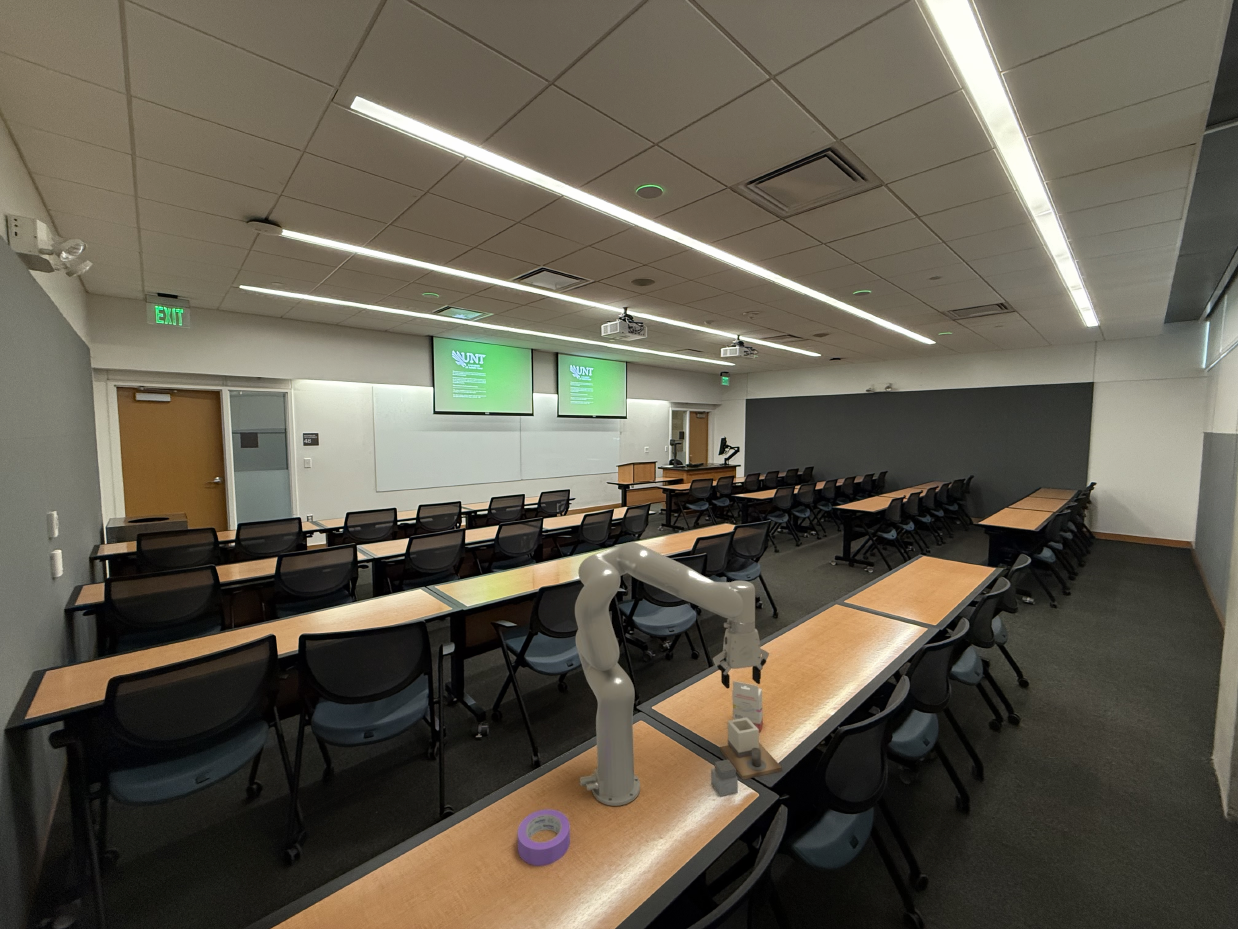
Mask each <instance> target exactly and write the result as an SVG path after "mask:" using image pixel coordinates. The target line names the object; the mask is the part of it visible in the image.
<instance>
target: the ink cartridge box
mask: <svg viewBox="0 0 1238 929" xmlns="http://www.w3.org/2000/svg"><path fill="white" fill-rule="evenodd" d="M731 691H732V720H736V719H741V718H748V719H749V720H750V721H751V722H752V723H753V724H754V725H755V726H756V727H757V728H758V729H759V734H760V733H761V731H762V729H763V726H764V720H763V719H764V718H763V717H764V714H763V689H762V688H760V687H759V686H758V684H757V685H756V684H751V683H746V682H742V681H737V680H733V681H732V690H731Z"/></svg>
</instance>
